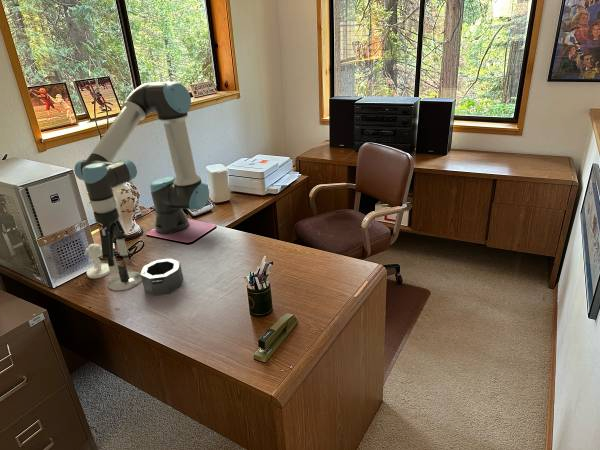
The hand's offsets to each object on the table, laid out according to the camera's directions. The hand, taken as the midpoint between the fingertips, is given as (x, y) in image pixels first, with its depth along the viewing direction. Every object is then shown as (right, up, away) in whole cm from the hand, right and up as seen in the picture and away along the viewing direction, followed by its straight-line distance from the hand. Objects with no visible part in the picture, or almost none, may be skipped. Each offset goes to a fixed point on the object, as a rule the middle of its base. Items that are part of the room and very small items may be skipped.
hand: (119, 263), depth 155 cm
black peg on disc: (+1, -7, +4) cm, 8 cm away
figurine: (-13, -4, +12) cm, 18 cm away
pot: (+16, -8, 0) cm, 18 cm away
